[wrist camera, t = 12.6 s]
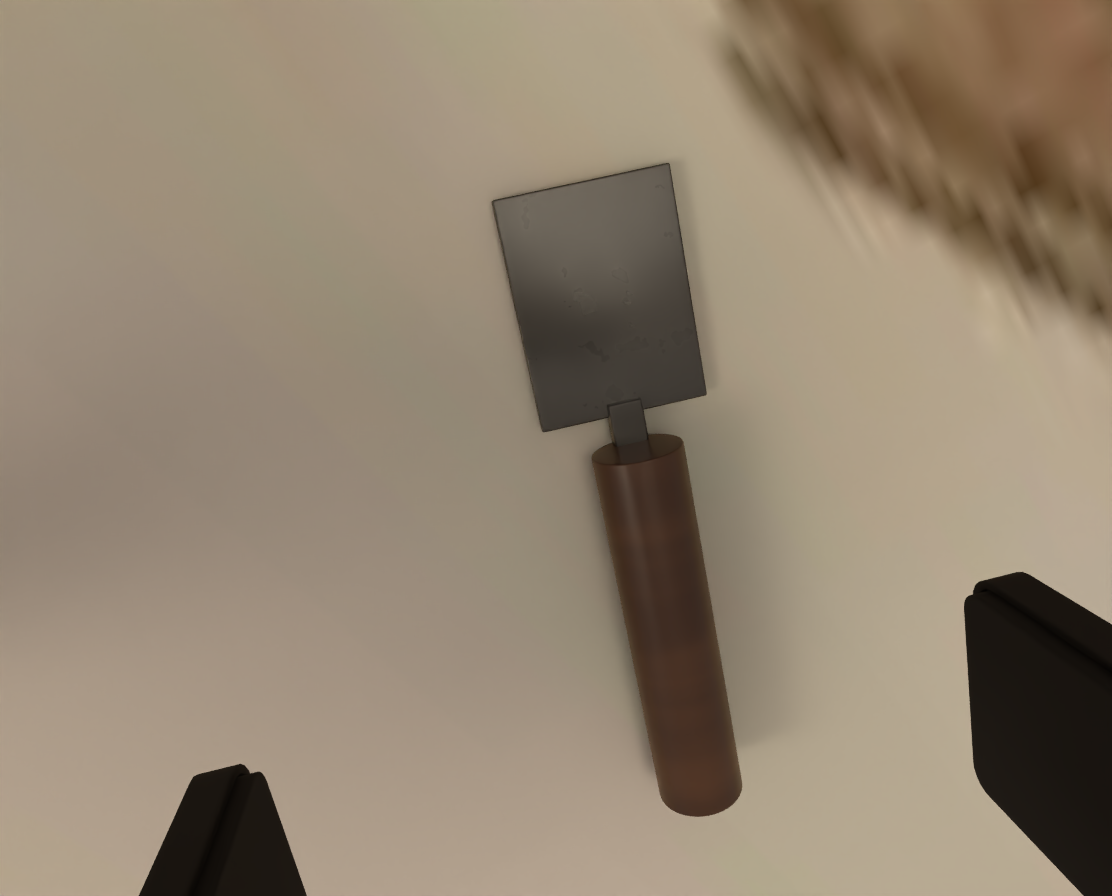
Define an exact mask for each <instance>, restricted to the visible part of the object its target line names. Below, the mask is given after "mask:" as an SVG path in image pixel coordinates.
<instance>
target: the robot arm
mask: <svg viewBox="0 0 1112 896" xmlns="http://www.w3.org/2000/svg"><path fill="white" fill-rule="evenodd" d="M964 614H965V630H966V647H967V663H968V680H969V696H970V713H971V730H972V746H973V763H974V769H975V772H976V775H977V778H978V780H979V782H980V784H981V786H982V787H983V789H984V790H985V792H986V793H987V794H988V795H989V796H990V798H991V799H992V800H993V801H994V802H995V803H996V804H997V805H998V806H999V807H1000V808H1001V809H1002V810H1003V811H1004V812H1005V813H1006V814H1007V815H1008V817H1009V818H1010V819H1011V820H1012V821H1013V822H1014V823H1015V824H1016V825H1017V826H1018V827H1019V828H1020V829H1021V830H1022V831H1023V832H1024V833H1025V834H1026V835H1027V837H1028V838H1029V839H1030V840H1031V841H1032V842H1033V843H1034V844H1035V845H1036V846H1037V847H1038V848H1039V849H1040V850H1041V851H1042V852H1043V853H1044V854H1045V855H1046V857H1047V858H1048V859H1049V860H1050V861H1051V862H1052V863H1053V864H1054V865H1055V866H1056V867H1057V868H1058V869H1059V870H1060V871H1061V872H1062V873H1063V874H1064V876H1065V877H1066V878H1067V879H1068V880H1069V881H1070V882H1071V883H1072V884H1073V885H1074V886H1075V887H1076V888H1077V889H1078V890H1079V891H1080V892H1081V893H1082V894H1083V896H1112V624H1110V623H1108V622H1107V621H1105V620H1103V619H1102V618H1100V617H1098V616H1097V615H1095V614H1093V613H1092V612H1090V611H1088V610H1087V609H1085V608H1084V607H1082V606H1080V605H1079V604H1077V603H1075V602H1074V601H1072V600H1070V599H1069V598H1067V597H1065V596H1064V595H1062V594H1060V593H1059V592H1057V591H1055V590H1054V589H1052V588H1050V587H1049V586H1047V585H1045V584H1044V583H1042V582H1040V581H1039V580H1037V579H1035V578H1034V577H1032V576H1031V575H1029V574H1026V573H1024V572H1016V573H1012V574H1008V575H1004V576H1000V577H996V578H992V579H988V580H984V581H980V582H978V583H977V584H976V585H975V588H974V590H973V595H970V596H968V597H967V598H966V600H965V602H964ZM139 896H307V895H306V892H305V889H304V886H303V884H302V881H301V878H300V875H299V872H298V869H297V866H296V864H295V861H294V858H293V855H292V852H291V849H290V846H289V844H288V841H287V838H286V835H285V832H284V829H283V826H282V824H281V821H280V818H279V815H278V812H277V809H276V806H275V803H274V801H273V798H272V795H271V792H270V789H269V786H268V783H267V781H266V779H265V776H264V775H263V774H262V773H261V772H255V773H251V774H250V772H249V770H248V769H247V768H246V766H245V765H242V764H238V765H234V766H230V767H226V768H222V769H218V770H214V771H210V772H206V773H202V774H198V775H196V776H194V777H193V779H192V780H191V782H190V784H189V786H188V788H187V790H186V793H185V795H184V797H183V799H182V801H181V804H180V806H179V808H178V810H177V813H176V815H175V817H174V819H173V821H172V824H171V826H170V828H169V830H168V832H167V835H166V837H165V839H164V841H163V844H162V846H161V848H160V850H159V852H158V855H157V857H156V859H155V861H154V863H153V866H152V868H151V870H150V872H149V875H148V877H147V879H146V881H145V883H144V886H143V888H142V890H141V892H140V895H139Z"/></svg>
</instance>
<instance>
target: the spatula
mask: <svg viewBox="0 0 1112 896" xmlns="http://www.w3.org/2000/svg"><path fill="white" fill-rule="evenodd" d="M492 206H493V210H494V215H495V219H496V224H497V228H498V233H499V238H500V242H501V247H502V251H503V256H504V260H505V265H506V270H507V274H508V279H509V283H510V288H511V292H512V297H513V301H514V306H515V311H516V315H517V320H518V324H519V329H520V333H521V338H522V343H523V347H524V352H525V356H526V361H527V365H528V370H529V374H530V379H531V384H532V388H533V393H534V397H535V402H536V406H537V411H538V416H539V420H540V425H541V429H542V431H543V432H548V431H552V430H557V429H561V428H565V427H570V426H574V425H578V424H583V423H587V422H591V421H596V420H600V419H604V418H608V422H609V427H610V432H611V437H612V442H613V443H610V444H608V445H605V446H603V447H602V448H600V449H598V450H597V451H596V452H594V454H593V455H592V463H593V468H594V473H595V478H596V483H597V488H598V493H599V498H600V503H601V508H602V512H603V517H604V522H605V527H606V532H607V537H608V542H609V547H610V552H611V557H612V561H613V566H614V571H615V576H616V581H617V586H618V591H619V596H620V601H621V605H622V610H623V615H624V620H625V625H626V630H627V635H628V640H629V645H630V650H631V654H632V659H633V664H634V669H635V674H636V679H637V684H638V689H639V694H640V698H641V703H642V708H643V713H644V718H645V723H646V728H647V733H648V738H649V743H650V747H651V752H652V757H653V762H654V767H655V772H656V777H657V782H658V787H659V792H660V796H661V798H662V800H663V802H664V803H665V804H666V805H667V806H668V807H669V808H670V809H671V810H673V811H675V812H677V813H679V814H683V815H687V816H695V817H701V816H709V815H713V814H716V813H719V812H722V811H724V810H725V809H727V808H729V807H730V806H731V805H733V804H734V803H735V802H736V800H737V799H738V797H739V796H740V793H741V791H742V779H741V773H740V768H739V762H738V756H737V750H736V744H735V739H734V733H733V727H732V721H731V715H730V709H729V704H728V698H727V692H726V686H725V680H724V675H723V669H722V663H721V657H720V651H719V645H718V640H717V634H716V628H715V622H714V616H713V611H712V605H711V599H710V593H709V587H708V582H707V576H706V570H705V564H704V558H703V552H702V547H701V541H700V535H699V529H698V523H697V518H696V512H695V506H694V500H693V494H692V488H691V483H690V477H689V471H688V465H687V459H686V454H685V448H684V442H683V440H682V439H681V438H680V437H678V436H674V435H668V434H650V435H648V433H647V427H646V422H645V416H644V411H643V410H644V409H648V408H652V407H657V406H661V405H665V404H670V403H674V402H678V401H683V400H687V399H691V398H696V397H700V396H704V395H706V394H707V393H706V386H705V380H704V374H703V368H702V362H701V356H700V349H699V343H698V337H697V331H696V325H695V318H694V312H693V306H692V300H691V294H690V287H689V281H688V275H687V269H686V263H685V256H684V250H683V244H682V238H681V232H680V225H679V219H678V213H677V207H676V201H675V194H674V188H673V182H672V176H671V170H670V164H669V163H666V164H661V165H656V166H652V167H647V168H642V169H637V170H633V171H628V172H623V173H619V174H614V175H609V176H605V177H600V178H595V179H591V180H586V181H581V182H577V183H572V184H567V185H563V186H558V187H553V188H549V189H544V190H539V191H535V192H530V193H525V194H521V195H516V196H511V197H507V198H502V199H497V200H493V201H492Z"/></svg>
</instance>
